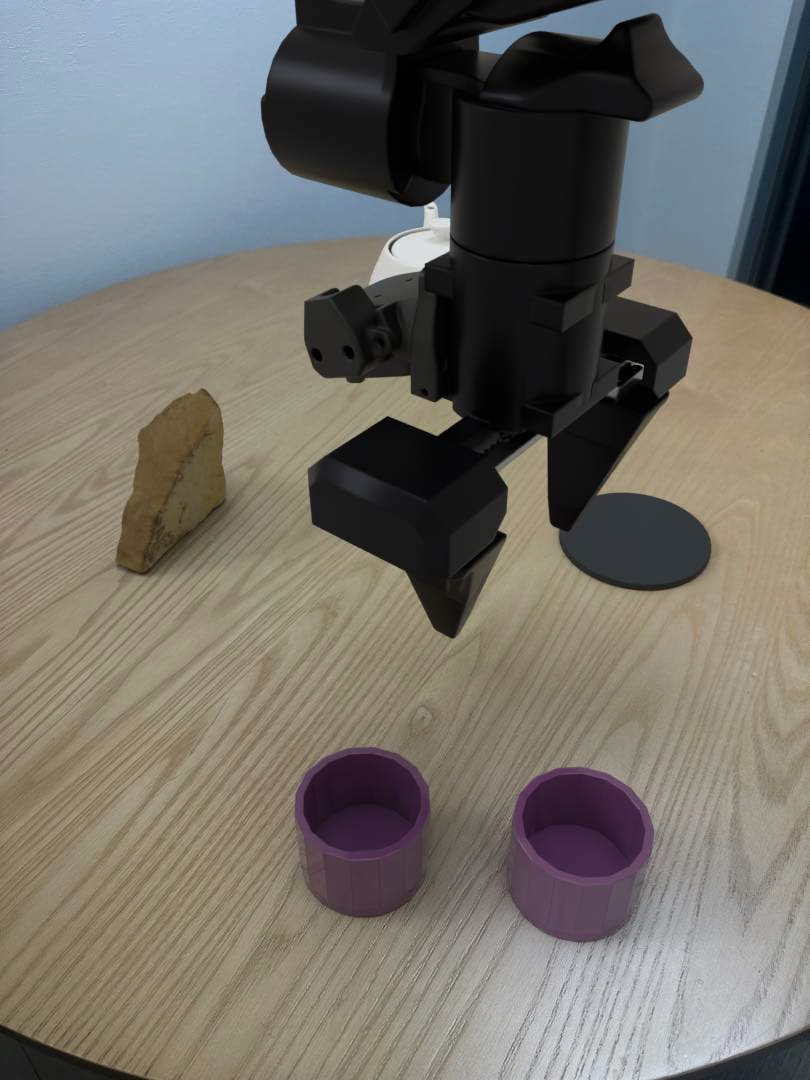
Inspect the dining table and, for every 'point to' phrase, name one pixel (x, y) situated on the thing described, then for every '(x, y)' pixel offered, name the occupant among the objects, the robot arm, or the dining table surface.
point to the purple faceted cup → (363, 830)
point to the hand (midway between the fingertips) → (507, 576)
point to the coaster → (637, 542)
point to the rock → (173, 479)
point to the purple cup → (578, 853)
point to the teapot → (414, 247)
